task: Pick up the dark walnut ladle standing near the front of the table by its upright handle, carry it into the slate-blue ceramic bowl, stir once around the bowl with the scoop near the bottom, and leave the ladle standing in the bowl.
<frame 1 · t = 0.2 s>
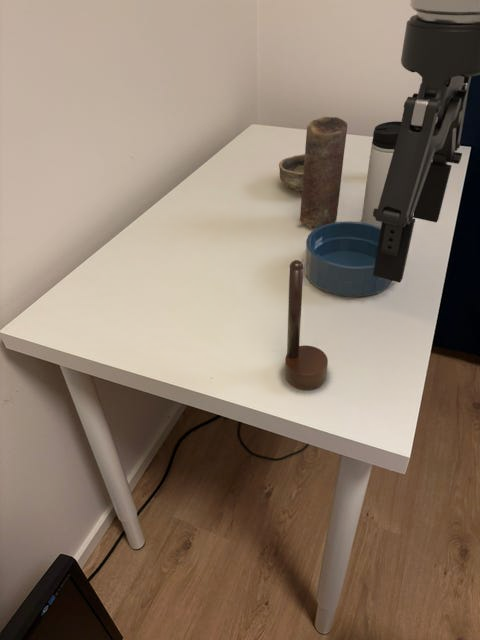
hand: (408, 245, 52), 21 cm above the table, tool pointing down, fingers open, 13 cm apart
ladle: (305, 375, 66), on the table
travel mug: (377, 227, 97), on the table
mug: (404, 179, 114), on the table
brown cylinder: (318, 224, 99), on the table
mixing bowl: (348, 273, 85), on the table
bowl: (311, 186, 113), on the table
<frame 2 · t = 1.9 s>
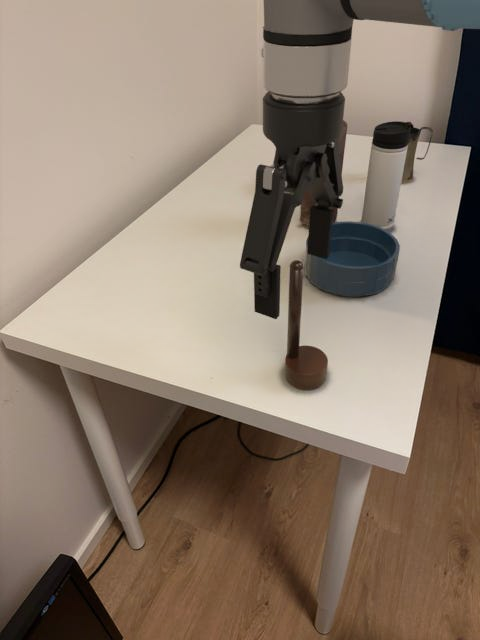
hand: (294, 282, 58), 15 cm above the table, tool pointing down, fingers open, 13 cm apart
nothing on the table moved.
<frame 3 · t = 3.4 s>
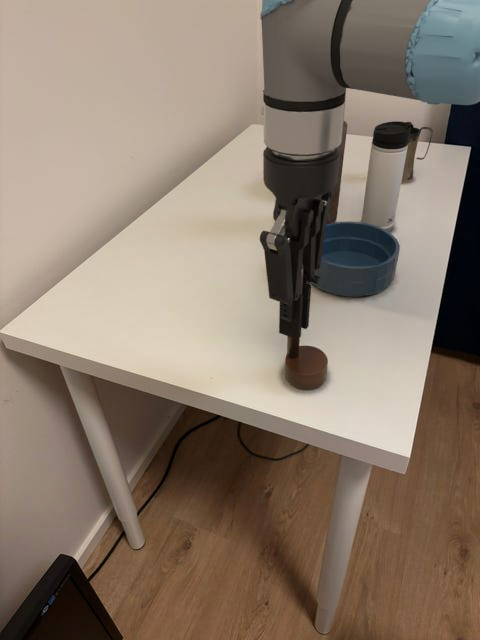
hand: (293, 329, 62), 7 cm above the table, tool pointing down, fingers closed on ladle, 2 cm apart
ladle: (305, 375, 66), on the table, touching gripper
everything else where it was.
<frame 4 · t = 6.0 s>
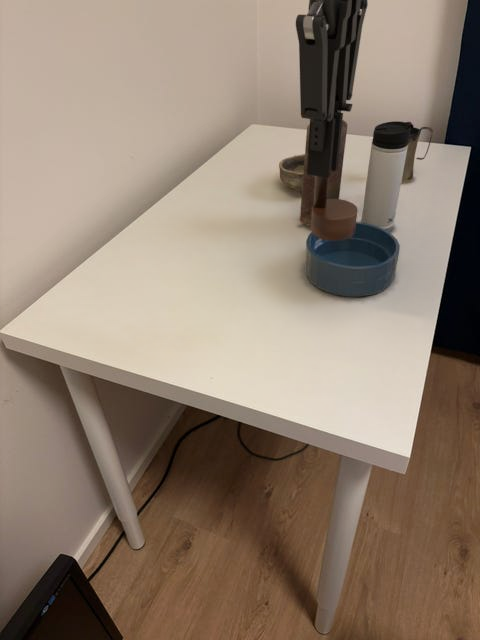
hand: (322, 171, 58), 25 cm above the table, tool pointing down, fingers closed on ladle, 2 cm apart
ladle: (332, 230, 62), point 17 cm above the table, touching gripper
everything else where it was.
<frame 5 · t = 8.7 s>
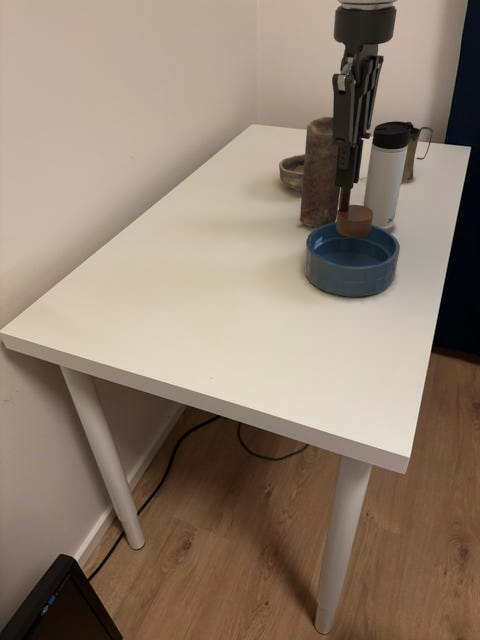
hand: (346, 183, 75), 16 cm above the table, tool pointing down, fingers closed on ladle, 2 cm apart
ladle: (353, 229, 79), point 9 cm above the table, touching gripper
everything else where it was.
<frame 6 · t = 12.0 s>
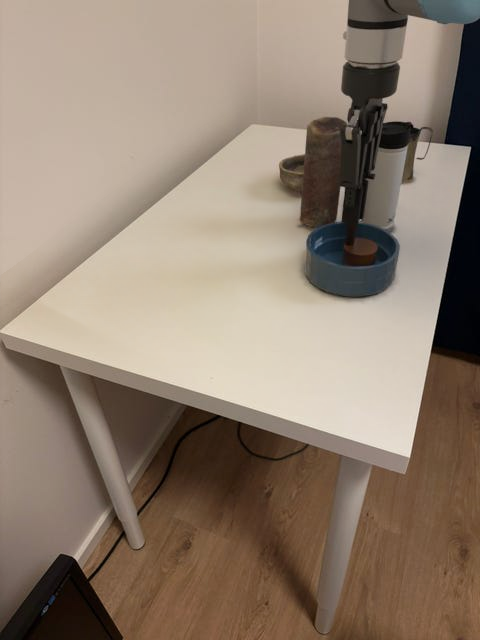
hand: (352, 219, 80), 9 cm above the table, tool pointing down, fingers closed on ladle, 2 cm apart
ladle: (358, 261, 84), point 2 cm above the table, touching gripper
everything else where it was.
when the fingers open (8 cm above the table, at t = 14.1 s): ladle stays where it is, resting on mixing bowl.
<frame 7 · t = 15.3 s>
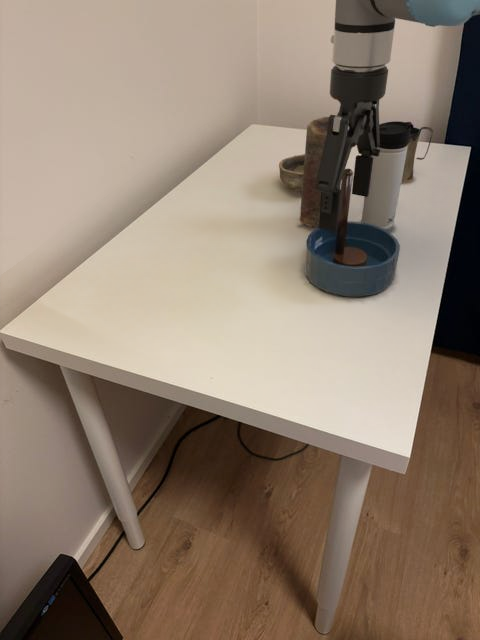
hand: (344, 211, 78), 11 cm above the table, tool pointing down, fingers open, 13 cm apart
ladle: (348, 270, 84), point 1 cm above the table, touching mixing bowl
everything else where it was.
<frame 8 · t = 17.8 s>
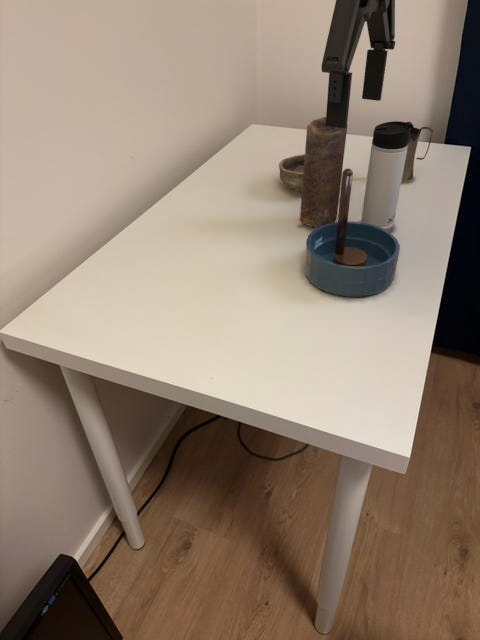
hand: (354, 112, 68), 27 cm above the table, tool pointing down, fingers open, 13 cm apart
nothing on the table moved.
at the end: ladle inside the target area in the mixing bowl (0.1 cm from its centre), point 0.6 cm above the mixing bowl's base; ladle tilted 0°; the gripper is holding nothing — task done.
